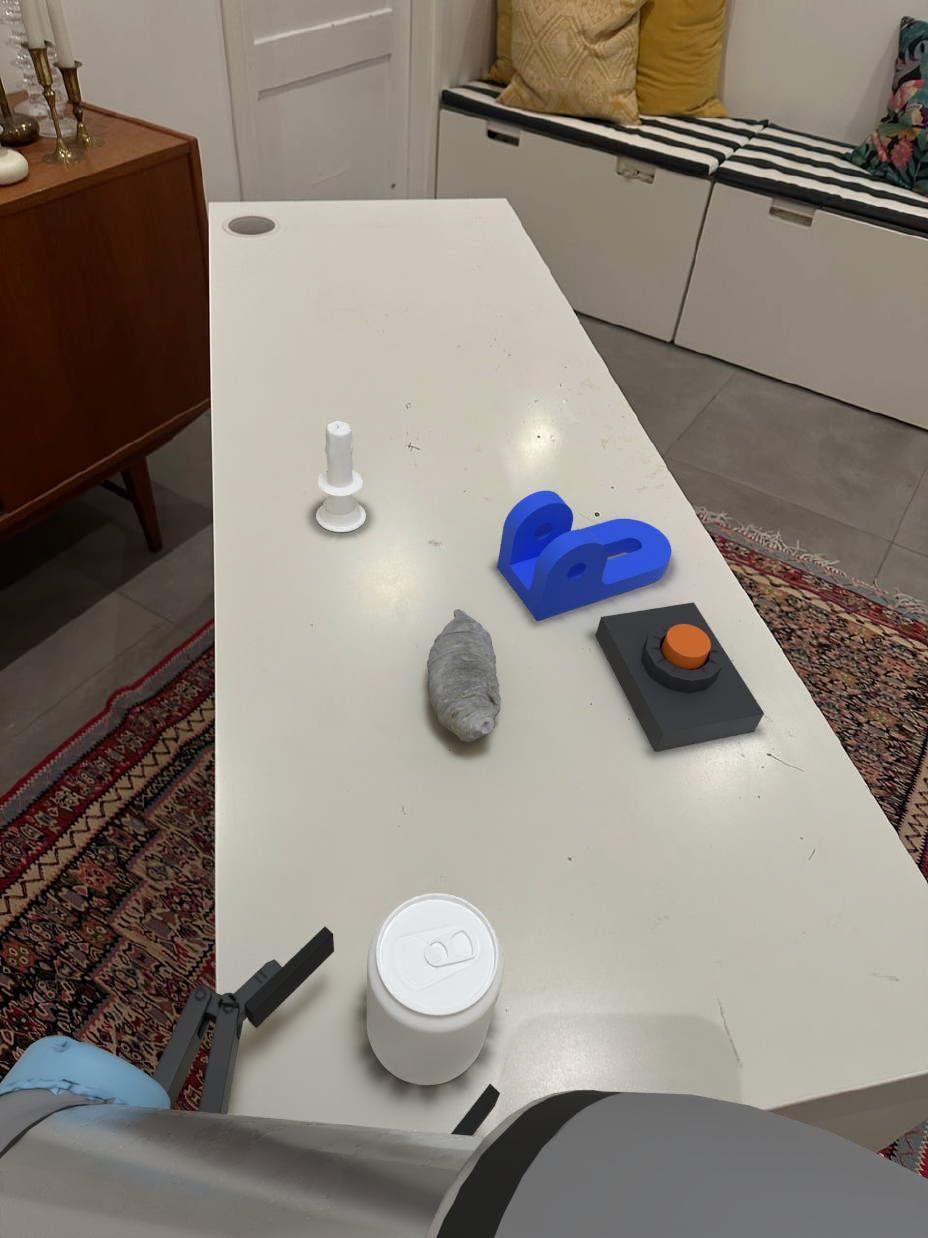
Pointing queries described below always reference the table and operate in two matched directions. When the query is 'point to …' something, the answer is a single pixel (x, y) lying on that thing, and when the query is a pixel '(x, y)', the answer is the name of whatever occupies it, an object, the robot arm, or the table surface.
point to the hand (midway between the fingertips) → (407, 1012)
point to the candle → (340, 482)
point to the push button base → (676, 680)
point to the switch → (686, 646)
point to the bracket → (575, 556)
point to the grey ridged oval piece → (464, 678)
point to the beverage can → (432, 987)
